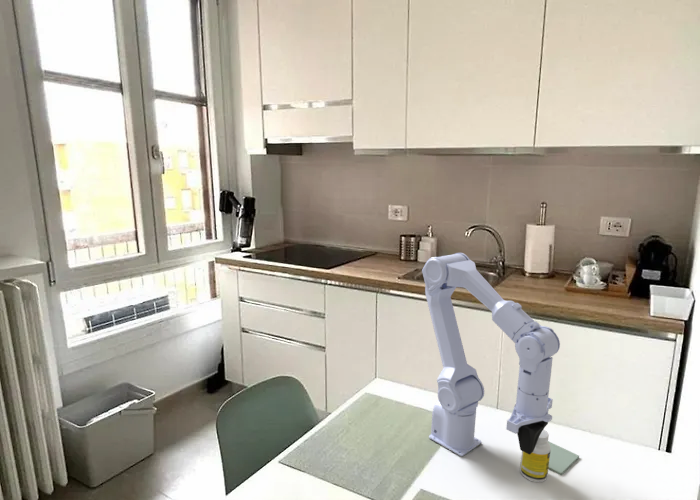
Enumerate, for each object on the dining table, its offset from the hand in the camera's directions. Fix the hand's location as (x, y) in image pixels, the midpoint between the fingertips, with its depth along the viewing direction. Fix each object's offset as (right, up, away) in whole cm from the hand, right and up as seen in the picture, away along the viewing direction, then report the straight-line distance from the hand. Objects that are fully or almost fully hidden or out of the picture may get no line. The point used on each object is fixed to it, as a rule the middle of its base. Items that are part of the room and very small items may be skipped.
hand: (526, 450), depth 93 cm
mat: (+9, -6, +10) cm, 15 cm away
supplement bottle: (+3, -7, +4) cm, 9 cm away
